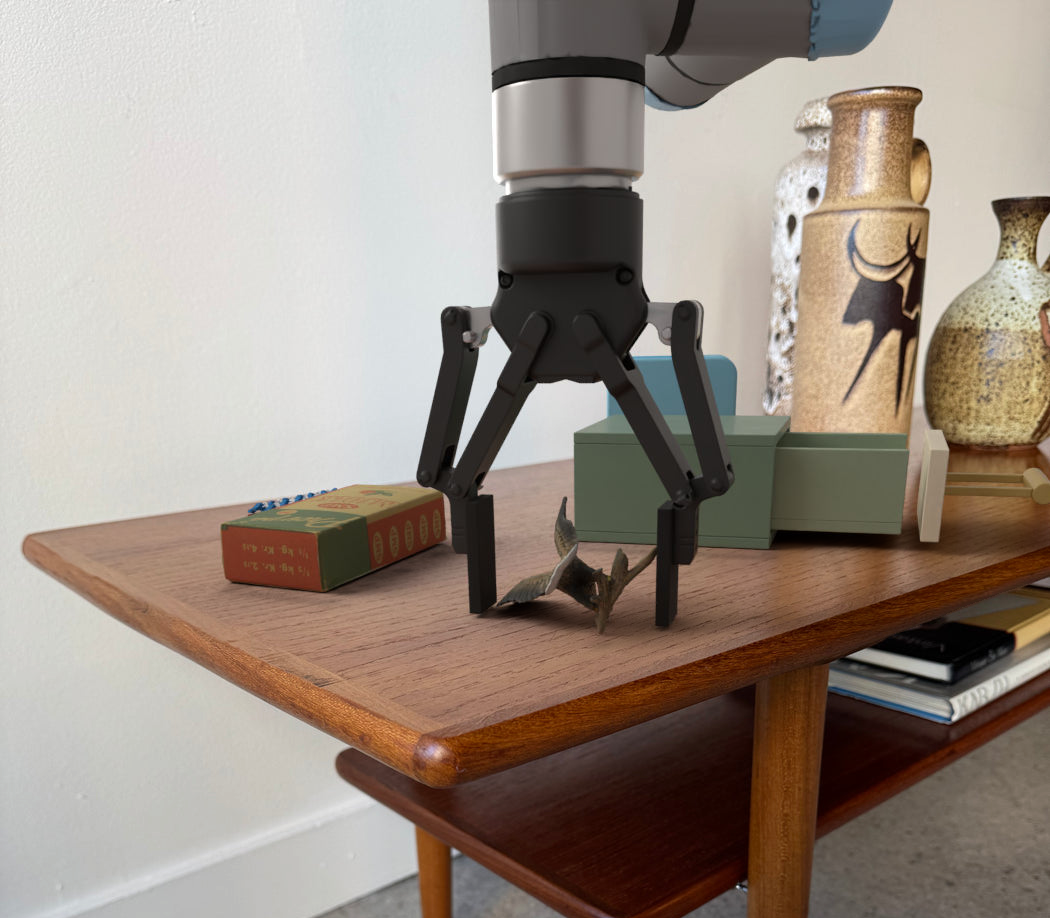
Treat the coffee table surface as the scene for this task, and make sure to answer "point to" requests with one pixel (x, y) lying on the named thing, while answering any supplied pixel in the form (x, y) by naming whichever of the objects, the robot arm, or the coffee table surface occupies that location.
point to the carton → (332, 536)
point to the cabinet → (637, 492)
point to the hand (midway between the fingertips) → (572, 613)
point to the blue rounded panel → (666, 386)
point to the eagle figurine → (579, 575)
